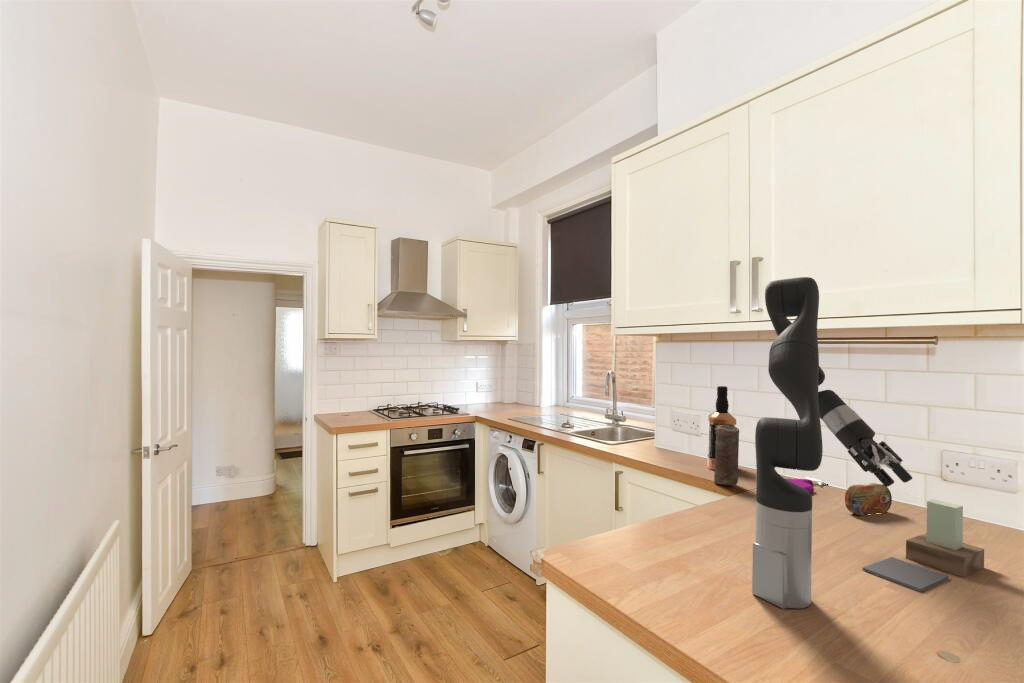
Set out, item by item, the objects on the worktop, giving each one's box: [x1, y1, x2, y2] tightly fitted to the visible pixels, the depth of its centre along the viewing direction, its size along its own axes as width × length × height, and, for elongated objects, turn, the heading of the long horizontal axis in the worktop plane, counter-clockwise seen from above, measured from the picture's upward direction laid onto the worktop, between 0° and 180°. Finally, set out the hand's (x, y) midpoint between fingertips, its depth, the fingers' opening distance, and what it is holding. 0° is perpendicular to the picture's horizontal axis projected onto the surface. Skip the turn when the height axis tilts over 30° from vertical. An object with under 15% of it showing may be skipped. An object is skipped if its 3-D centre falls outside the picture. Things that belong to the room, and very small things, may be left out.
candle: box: [713, 425, 740, 487], centre depth 164 cm, size 8×7×20 cm
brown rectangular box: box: [905, 532, 985, 578], centre depth 106 cm, size 10×10×4 cm
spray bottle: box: [785, 476, 826, 495], centre depth 162 cm, size 3×11×24 cm
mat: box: [862, 556, 950, 593], centre depth 100 cm, size 12×10×1 cm
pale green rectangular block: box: [926, 498, 964, 550], centre depth 106 cm, size 4×5×9 cm
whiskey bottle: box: [706, 385, 737, 471], centre depth 188 cm, size 10×10×32 cm
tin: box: [844, 482, 893, 517], centre depth 138 cm, size 15×3×8 cm, turn 105°
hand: (899, 482), depth 113 cm, fingers open, 8 cm apart
